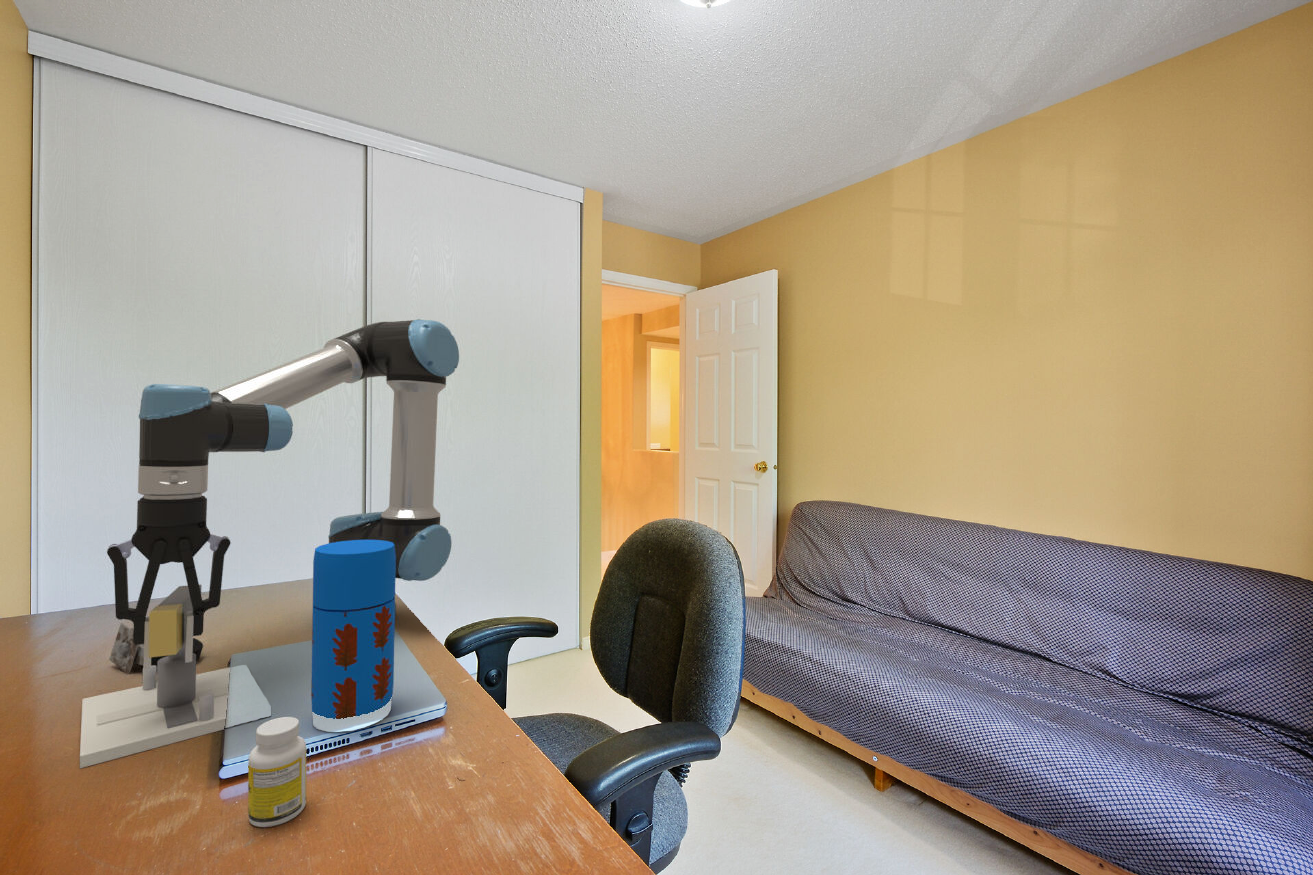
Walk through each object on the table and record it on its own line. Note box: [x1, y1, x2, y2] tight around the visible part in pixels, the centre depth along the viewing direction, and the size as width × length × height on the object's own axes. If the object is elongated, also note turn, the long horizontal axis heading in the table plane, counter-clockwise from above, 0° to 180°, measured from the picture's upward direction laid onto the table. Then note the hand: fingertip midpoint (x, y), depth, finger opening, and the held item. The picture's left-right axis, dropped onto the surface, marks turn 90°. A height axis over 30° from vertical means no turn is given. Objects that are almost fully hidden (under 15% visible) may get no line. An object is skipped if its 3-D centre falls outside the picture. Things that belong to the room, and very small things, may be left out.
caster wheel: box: [109, 622, 204, 675], centre depth 103 cm, size 7×11×10 cm
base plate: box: [79, 653, 230, 769], centre depth 86 cm, size 20×20×8 cm
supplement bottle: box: [247, 716, 307, 828], centre depth 65 cm, size 5×5×10 cm
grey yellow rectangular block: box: [148, 584, 202, 659], centre depth 86 cm, size 14×3×9 cm, turn 26°
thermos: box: [310, 540, 396, 719], centre depth 87 cm, size 11×11×25 cm
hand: (168, 662), depth 83 cm, fingers open, 4 cm apart
